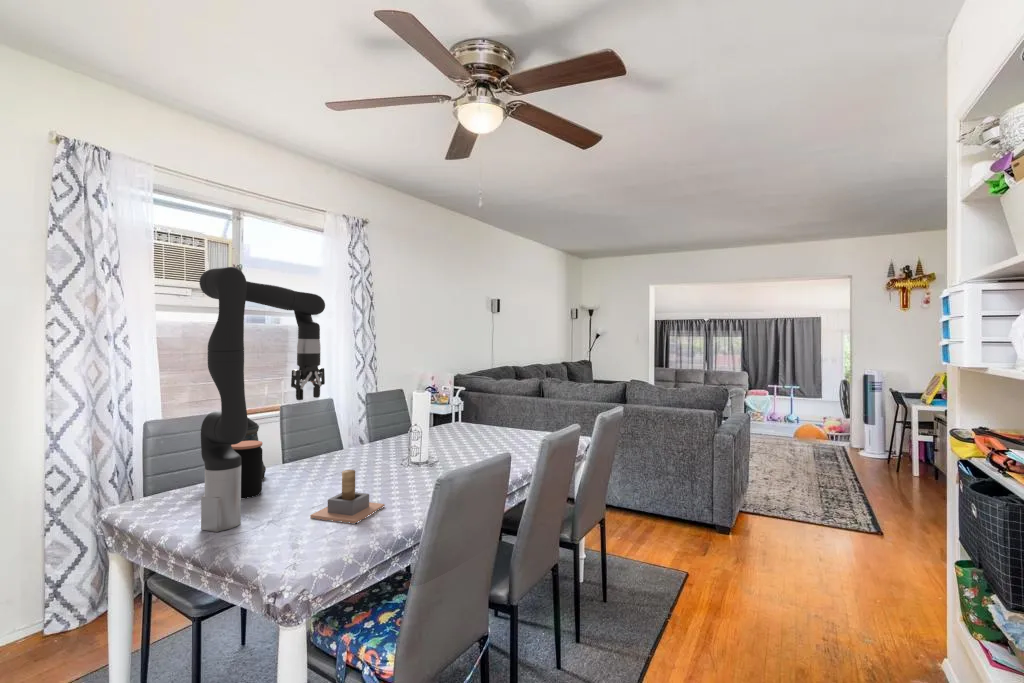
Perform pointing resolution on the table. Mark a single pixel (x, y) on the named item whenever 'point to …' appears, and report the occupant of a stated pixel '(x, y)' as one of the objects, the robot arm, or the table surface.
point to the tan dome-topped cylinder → (348, 485)
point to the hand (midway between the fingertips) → (308, 398)
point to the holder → (347, 509)
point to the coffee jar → (250, 467)
